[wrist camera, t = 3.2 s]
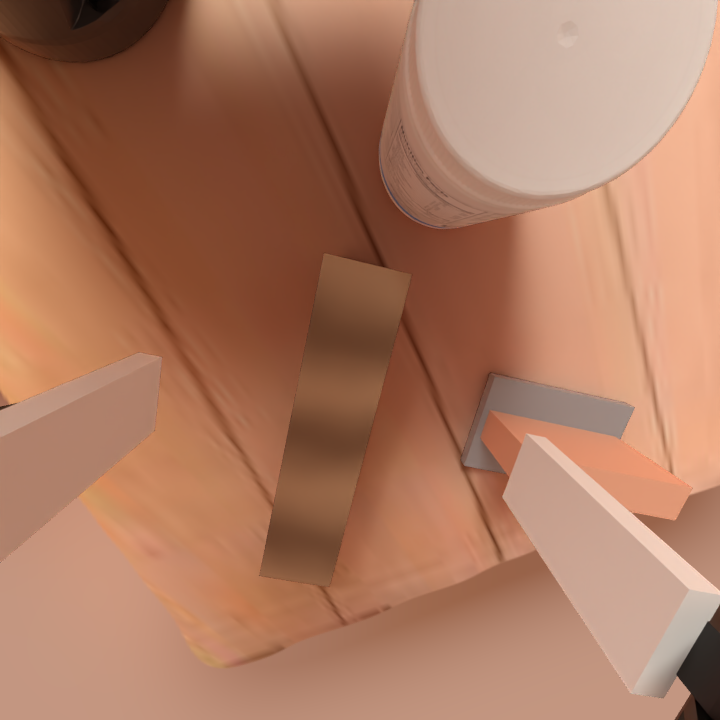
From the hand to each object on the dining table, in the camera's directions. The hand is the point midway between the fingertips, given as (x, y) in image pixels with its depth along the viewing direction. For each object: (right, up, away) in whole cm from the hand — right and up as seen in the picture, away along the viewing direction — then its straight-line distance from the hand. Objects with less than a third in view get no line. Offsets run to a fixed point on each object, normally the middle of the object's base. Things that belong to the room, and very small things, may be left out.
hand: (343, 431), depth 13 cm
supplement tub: (+6, +16, +12) cm, 22 cm away
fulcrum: (+16, -4, +18) cm, 24 cm away
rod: (-1, -1, +12) cm, 12 cm away
